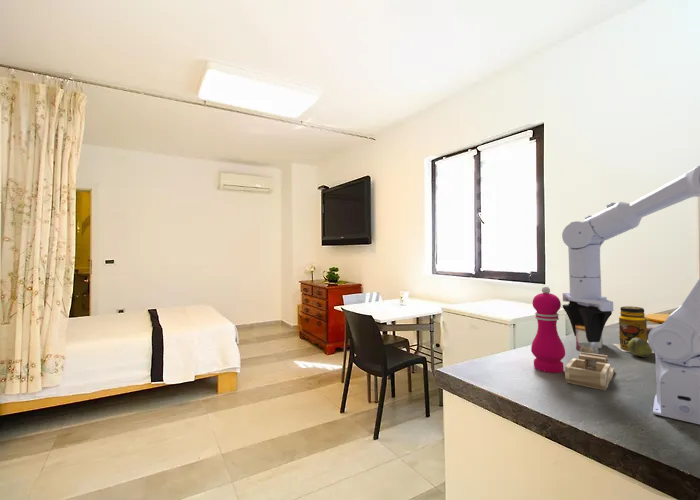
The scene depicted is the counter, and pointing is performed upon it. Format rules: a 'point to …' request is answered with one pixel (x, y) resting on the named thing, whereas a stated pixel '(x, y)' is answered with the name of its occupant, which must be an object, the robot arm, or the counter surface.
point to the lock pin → (593, 361)
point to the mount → (589, 371)
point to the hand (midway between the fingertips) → (586, 338)
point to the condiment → (631, 326)
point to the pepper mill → (547, 334)
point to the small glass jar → (584, 340)
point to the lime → (639, 347)
